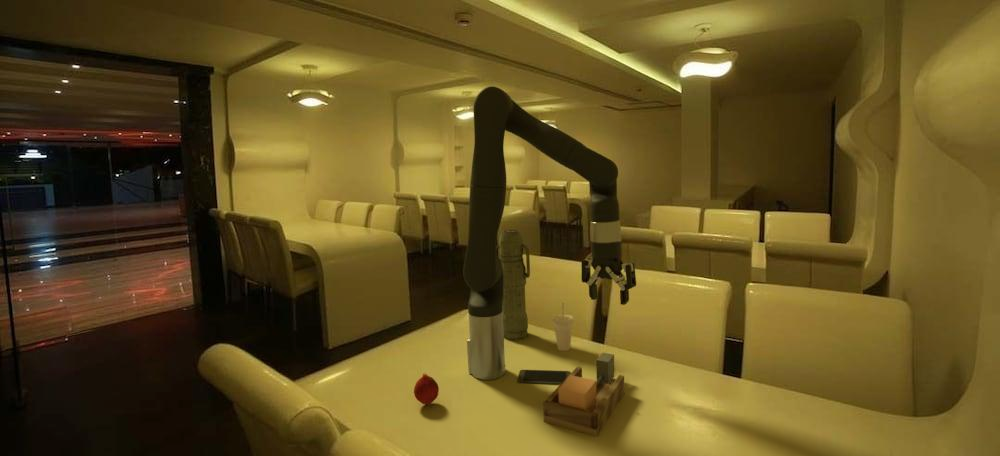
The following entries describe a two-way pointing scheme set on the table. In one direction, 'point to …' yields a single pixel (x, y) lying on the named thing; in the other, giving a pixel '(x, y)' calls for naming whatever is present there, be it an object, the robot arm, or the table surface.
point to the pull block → (587, 385)
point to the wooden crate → (582, 418)
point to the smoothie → (563, 330)
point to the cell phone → (542, 377)
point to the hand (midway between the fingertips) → (608, 301)
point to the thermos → (514, 284)
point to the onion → (426, 389)
